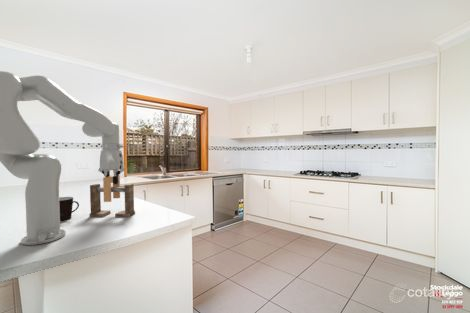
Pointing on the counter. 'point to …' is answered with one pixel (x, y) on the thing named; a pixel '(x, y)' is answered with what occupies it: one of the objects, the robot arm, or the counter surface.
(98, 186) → the rack
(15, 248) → the counter surface
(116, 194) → the tan c-shaped bracket
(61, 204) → the coffee mug
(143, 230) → the counter surface
